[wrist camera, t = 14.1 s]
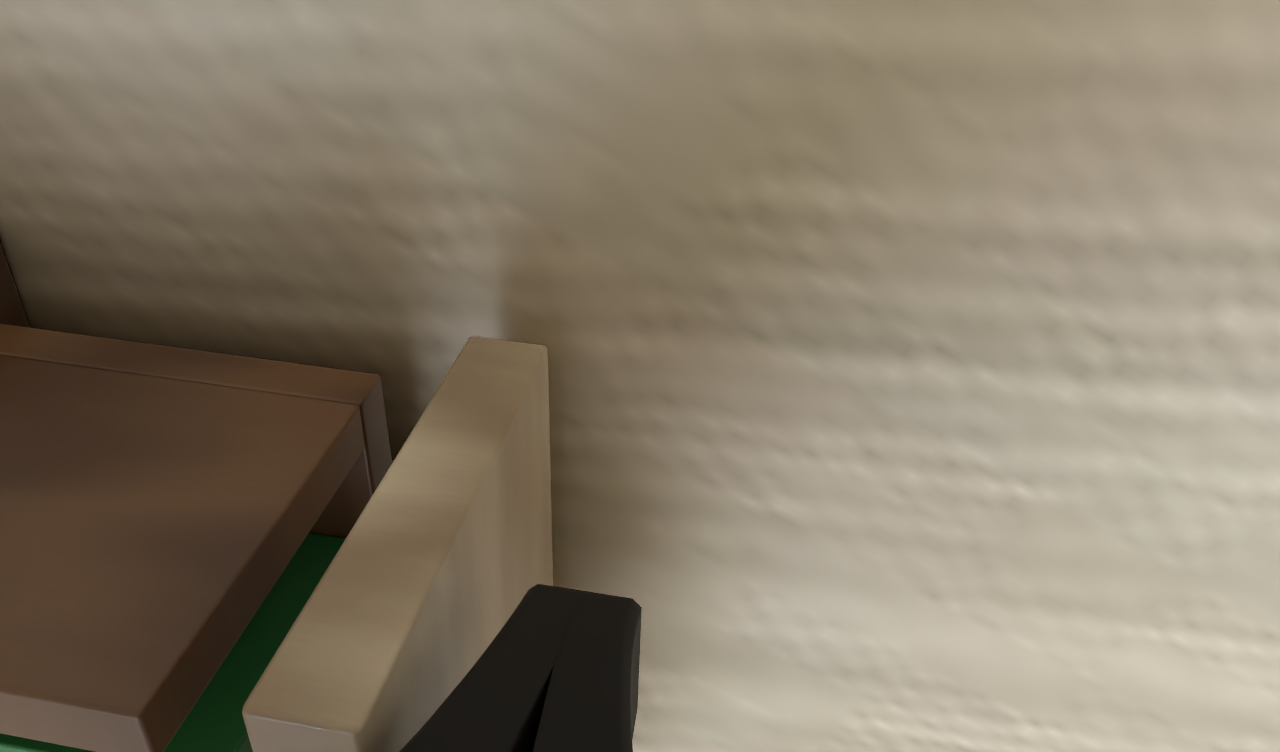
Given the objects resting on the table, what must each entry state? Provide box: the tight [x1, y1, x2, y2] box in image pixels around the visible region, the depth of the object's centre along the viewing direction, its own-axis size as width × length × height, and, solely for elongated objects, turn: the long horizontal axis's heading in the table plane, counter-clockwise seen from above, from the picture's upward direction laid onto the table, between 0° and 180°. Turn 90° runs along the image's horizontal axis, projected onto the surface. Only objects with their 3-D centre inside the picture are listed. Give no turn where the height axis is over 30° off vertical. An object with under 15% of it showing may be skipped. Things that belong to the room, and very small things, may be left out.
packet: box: [0, 533, 346, 752], centre depth 16 cm, size 5×6×5 cm
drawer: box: [0, 324, 553, 752], centre depth 16 cm, size 14×11×7 cm
